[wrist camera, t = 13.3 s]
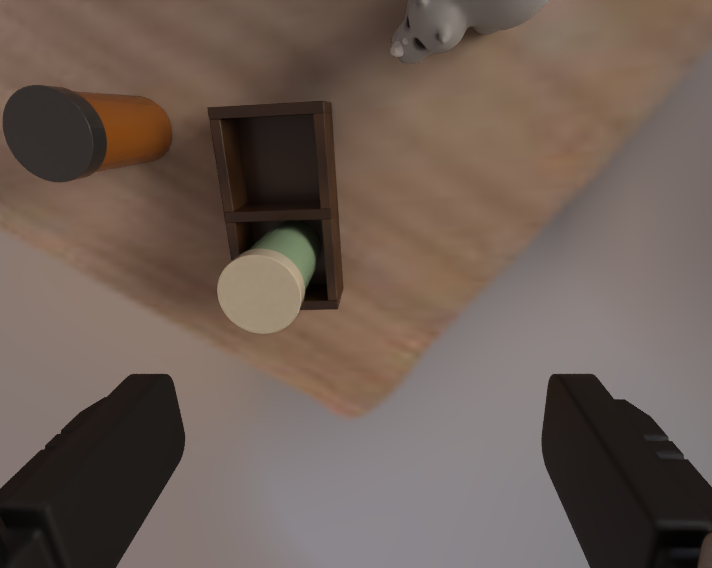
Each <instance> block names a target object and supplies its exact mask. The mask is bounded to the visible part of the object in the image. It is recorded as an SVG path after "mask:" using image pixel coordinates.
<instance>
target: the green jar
mask: <svg viewBox="0 0 712 568" xmlns="http://www.w3.org/2000/svg"><path fill="white" fill-rule="evenodd" d="M321 254H322V247H321V242H320V239H319V237H318V235H317V234H316V232H315V231H314V230H313V229H312V228H311V227H310V226H308V225H307V224H305V223H303V222H300V221H296V220H287V221H281V222H279V223H277V224H275V225H274V226H272V227H271V228H270V229H269V230H268V231H267V232H266V233H265V234H264V235H263V236H262V237H261V238H260V239H259V240H258V241H257V242H256V243H255V244H254V245H253V246H252V247H251V248H249V249H248V250H247V251H246V252H243V253H242V254H240V255H238V256H237V257H236V258H235V259H234V260H232V261H231V262H230V263H229V264H228V265H227V266H226V267H225V268H224V270H223V271H222V273H221V275H220V277H219V280H218V285H217V295H218V300H219V303H220V306H221V308H222V310H223V312H224V313H225V314H226V316H227V317H228V318H229V319H230V320H231V321H232V322H233V323H234V324H236V325H237V326H239V327H240V328H242V329H244V330H247V331H249V332H253V333H259V334H268V333H274V332H277V331H280V330H282V329H284V328H285V327H287V326H288V325H289V324H290V323H292V321H293V320H294V319H295V318H296V316H297V314H298V312H299V310H300V308H301V305H302V303H303V300H304V296H305V290H306V288H307V286H308V284H309V282H310V280H311V278H312V276H313V274H314V272H315V269H316V267H317V265H318V263H319V261H320V258H321Z"/></svg>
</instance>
